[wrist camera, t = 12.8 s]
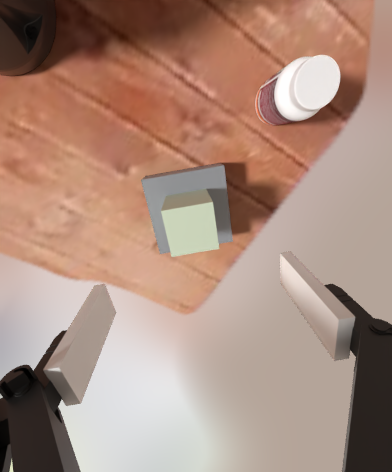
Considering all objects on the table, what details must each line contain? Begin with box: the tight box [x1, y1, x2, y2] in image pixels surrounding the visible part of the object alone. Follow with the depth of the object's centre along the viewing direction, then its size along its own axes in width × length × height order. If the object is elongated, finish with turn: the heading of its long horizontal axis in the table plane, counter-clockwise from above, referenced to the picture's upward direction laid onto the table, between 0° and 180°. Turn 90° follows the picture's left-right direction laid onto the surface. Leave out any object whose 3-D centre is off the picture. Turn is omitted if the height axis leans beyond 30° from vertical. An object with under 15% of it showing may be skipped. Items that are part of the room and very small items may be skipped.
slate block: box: [141, 163, 233, 254], centre depth 36 cm, size 12×12×4 cm
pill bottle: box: [255, 55, 340, 126], centre depth 27 cm, size 6×6×11 cm
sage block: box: [161, 189, 219, 257], centre depth 30 cm, size 6×6×8 cm
